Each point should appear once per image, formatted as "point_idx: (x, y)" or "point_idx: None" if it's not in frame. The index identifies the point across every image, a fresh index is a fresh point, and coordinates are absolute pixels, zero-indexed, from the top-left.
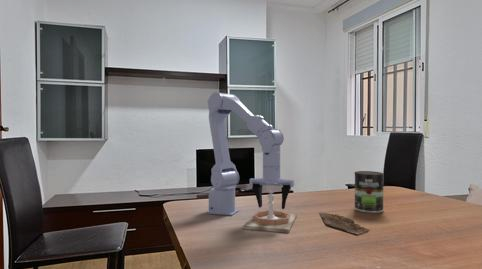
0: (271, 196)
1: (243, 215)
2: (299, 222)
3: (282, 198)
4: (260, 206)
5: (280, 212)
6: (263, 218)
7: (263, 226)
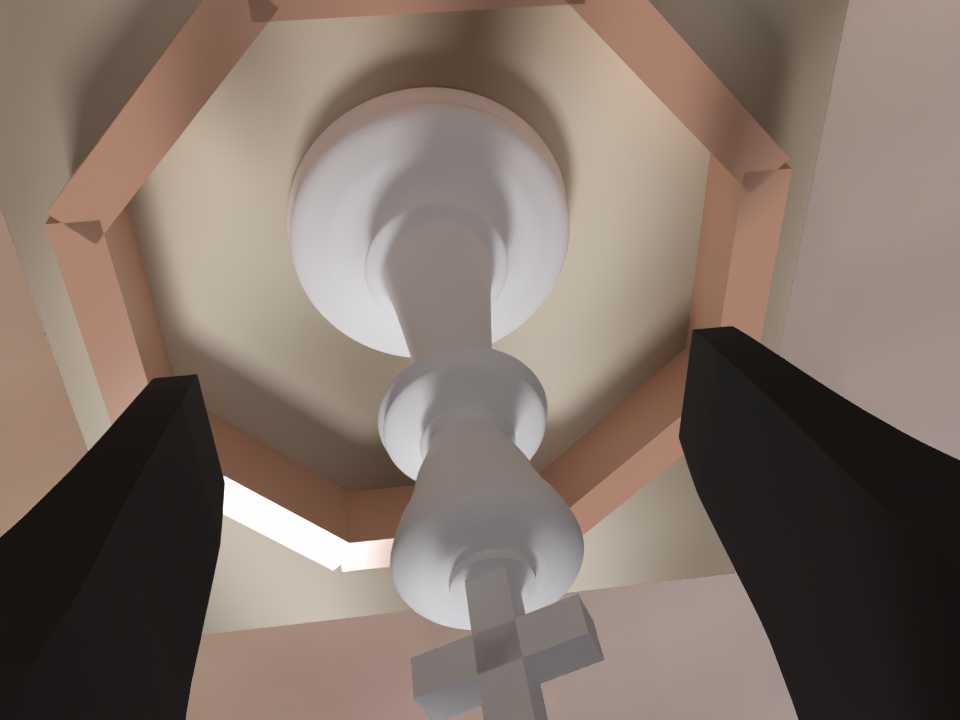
0: (451, 502)
1: (913, 434)
2: (8, 407)
3: (100, 527)
4: (702, 338)
5: (351, 531)
6: (585, 285)
7: None
